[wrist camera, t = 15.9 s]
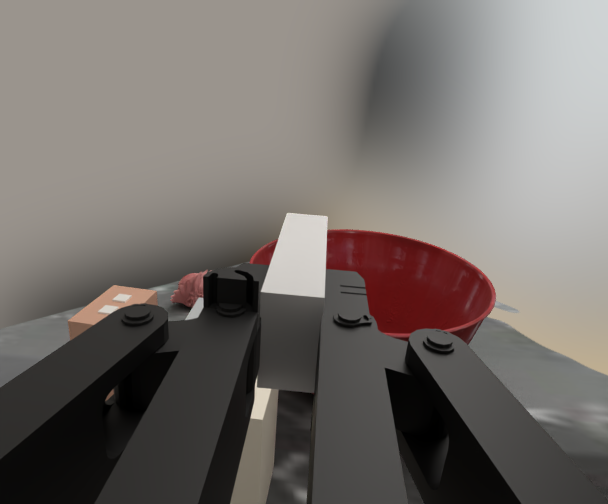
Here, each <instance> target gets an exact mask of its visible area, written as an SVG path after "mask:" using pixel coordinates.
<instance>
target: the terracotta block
mask: <svg viewBox="0 0 608 504" xmlns="http://www.w3.org/2000/svg"><path fill="white" fill-rule="evenodd" d="M140 303H146V304H151V305H157V291H152V290H145V289H137V288H130V287H123V286H116V285H114V286H112V287H111V288H110V289H108V290H107V291H106V292H104V293H103V294H102V295H101V296H99V297H98V298H97V299H96V300H94V301H93V302H92V303H90V304H89V305H88V306H86V307H85V308H84V309H82V310H81V311H80V312H79V313H77V314H76V315H75V316H73V317H72V318H71V319H70V320H68V326H69V333H70V340H72V339H74V338H75V337H77V336H78V335H80V334H81V333H83V332H84V331H86V330H87V329H88V328H90V327H91V326H93V325H94V324H96V323H97V322H99V321H100V320H102V319H103V318H105V317H106V316H108V315H109V314H111V313H112V312H114V311H116V310H118V309H120V308H122V307H126V306H130V305H132V304H140ZM113 394H114V390H112V391H111V392H110V393H109V395H108V396H107V398H106V400H108V399H109V398H110V397H111V396H112V395H113ZM106 400H105V401H106Z"/></svg>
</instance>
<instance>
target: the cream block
mask: <svg viewBox="0 0 608 504" xmlns="http://www.w3.org/2000/svg"><path fill="white" fill-rule="evenodd" d="M277 406H278V390H277V389H267V388H257V379H256V383H255V400H254V405H253V409H252V413H251V418H250V422H249V426H248V430H247V434H246V439H245V443H244V447H243V451H242V455H241V460H240V464H239V468H238V472H237V476H236V481H235V485H234V489H233V493H232V498H231V502H230V504H266V500H267V496H268V491H269V486H270V482H271V477H272V473H273V468H274V455H275V438H276V422H277Z"/></svg>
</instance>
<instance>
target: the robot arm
mask: <svg viewBox="0 0 608 504" xmlns="http://www.w3.org/2000/svg"><path fill="white" fill-rule="evenodd" d="M327 220H328V217H327V216H318V215H306V214H294V213H287V215H286V218H285V221H284V224H283V227H282V230H281V233H280V236H279V239H278V242H277V245H276V248H275V251H274V254H273V257H272V260H271V263H270V265H262V264H251V263H243V264H241V265H240V266H238V267H236V268H227V267H226V268H220V269H215V270H212V271H209V272H207V273H206V274H205V275H204V276H203V309H202V311H201V313H200V314H199V316H198V318H194V319H189V320H181V321H169V322H168V312H167V311H166V310H165V309H164V308H162V307H159V306H157V305H151V304H146V303H140V304H132V305H130V306H126V307H122V308H120V309H118V310H116V311H114V312H112V313H111V314H109V315H108V316H106V317H105V318H103V319H102V320H100V321H99V322H97V323H96V324H94V325H93V326H91V327H90V328H88V329H87V330H86V331H84V332H83V333H81V334H80V335H78V336H77V337H75V338H74V339H72V340H71V341H69V342H68V343H66V344H65V345H63V346H62V347H60V348H59V349H57V350H56V351H54V352H53V353H51V354H50V355H48V356H47V357H45V358H44V359H42V360H41V361H39V362H38V363H36V364H35V365H33V366H32V367H30V368H29V369H27V370H26V371H24V372H23V373H21V374H20V375H18V376H17V377H15V378H14V379H12V380H11V381H9V382H8V383H6V384H5V385H4V386H2V387H1V388H0V504H230V502H231V498H232V493H233V489H234V485H235V481H236V476H237V472H238V468H239V464H240V460H241V455H242V451H243V447H244V443H245V439H246V434H247V430H248V426H249V422H250V418H251V413H252V409H253V405H254V400H255V383H256V379H257V388H267V389H277V390H288V391H298V392H308V393H314V400H313V411H312V421H311V444H310V460H309V475H308V491H307V504H408V500H407V494H406V488H405V483H404V477H403V471H402V465H401V459H400V454H399V451H400V453H401V455H402V457H403V459H404V461H405V464H406V466H407V468H408V470H409V472H410V474H411V476H412V478H413V480H414V482H415V485H416V487H417V489H418V491H419V493H420V495H421V497H422V499H423V501H424V503H425V504H608V500H607V499H606V497H605V496H604V495H603V494H602V493H601V492H600V491H599V490H598V489H597V488H596V486H595V485H594V484H593V483H592V482H591V481H590V480H589V479H588V478H587V476H586V475H585V474H584V473H583V472H582V471H581V470H580V469H579V468H578V467H577V465H576V464H575V463H574V462H573V461H572V460H571V459H570V458H569V457H568V455H567V454H566V453H565V452H564V451H563V450H562V449H561V448H560V447H559V446H558V444H557V443H556V442H555V441H554V440H553V439H552V438H551V437H550V436H549V434H548V433H547V432H546V431H545V430H544V429H543V428H542V427H541V426H540V424H539V423H538V422H537V421H536V420H535V419H534V418H533V417H532V416H531V415H530V413H529V412H528V411H527V410H526V409H525V408H524V407H523V406H522V405H521V403H520V402H519V401H518V400H517V399H516V398H515V397H514V396H513V395H512V394H511V392H510V391H509V390H508V389H507V388H506V387H505V386H504V385H503V384H502V382H501V381H500V380H499V379H498V378H497V377H496V376H495V375H494V374H493V373H492V371H491V370H490V369H489V368H488V367H487V366H486V365H485V364H484V363H483V361H482V360H481V359H480V358H479V357H478V356H477V355H476V354H475V353H474V352H473V350H472V349H471V348H470V347H469V346H468V345H467V344H466V343H465V342H464V341H463V340H461V339H460V338H459V337H457V336H455V335H453V334H451V333H449V332H447V331H444V330H440V329H427V328H426V329H420V330H416V331H414V332H413V333H411V334H410V337H409V339H408V342H407V341H403V340H400V339H396V338H393V337H390V336H388V335H386V334H384V333H382V332H380V331H379V330H378V327H377V322H376V321H375V319H374V317H373V316H371V315H370V314H369V307H368V301H367V296H366V289H365V281H364V279H363V278H362V277H361V276H360V275H359V274H358V273H357V272H354V271H343V270H331V269H326V248H327ZM112 390H114V394H113V395H112V396H111V397H110V398H109V399H108V400H106V398H107V396H108V395H109V393H110V392H111V391H112ZM105 400H106V401H105Z"/></svg>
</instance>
